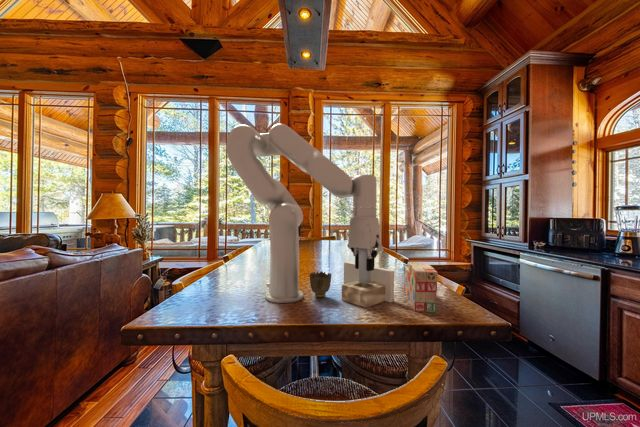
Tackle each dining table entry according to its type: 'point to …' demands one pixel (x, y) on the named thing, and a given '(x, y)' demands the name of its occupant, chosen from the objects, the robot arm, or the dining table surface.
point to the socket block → (363, 293)
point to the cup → (320, 283)
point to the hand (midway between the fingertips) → (364, 268)
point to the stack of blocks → (421, 286)
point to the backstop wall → (372, 278)
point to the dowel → (363, 267)
